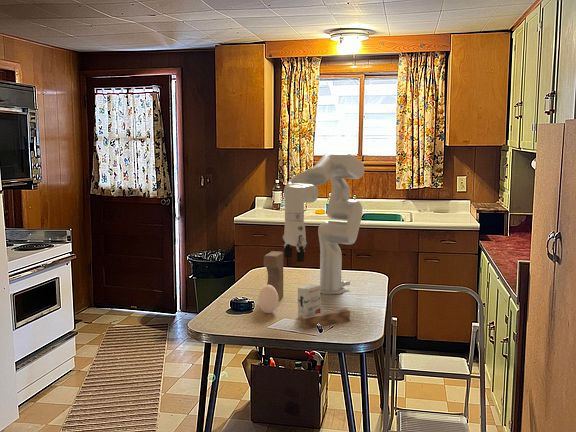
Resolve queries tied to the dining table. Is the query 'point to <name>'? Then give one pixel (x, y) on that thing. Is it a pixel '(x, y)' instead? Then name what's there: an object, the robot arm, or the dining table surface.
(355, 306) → the dining table surface
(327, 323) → the board
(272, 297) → the egg
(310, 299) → the ink box
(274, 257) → the decorative block
